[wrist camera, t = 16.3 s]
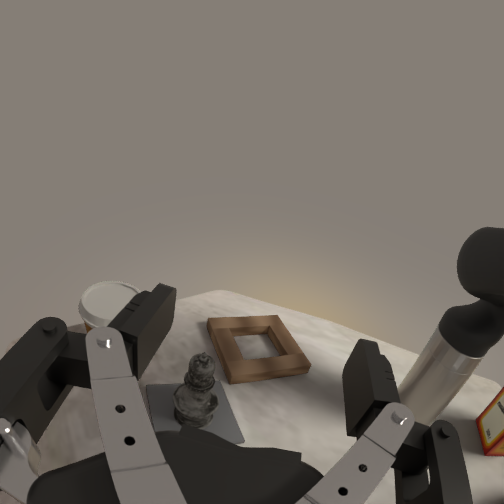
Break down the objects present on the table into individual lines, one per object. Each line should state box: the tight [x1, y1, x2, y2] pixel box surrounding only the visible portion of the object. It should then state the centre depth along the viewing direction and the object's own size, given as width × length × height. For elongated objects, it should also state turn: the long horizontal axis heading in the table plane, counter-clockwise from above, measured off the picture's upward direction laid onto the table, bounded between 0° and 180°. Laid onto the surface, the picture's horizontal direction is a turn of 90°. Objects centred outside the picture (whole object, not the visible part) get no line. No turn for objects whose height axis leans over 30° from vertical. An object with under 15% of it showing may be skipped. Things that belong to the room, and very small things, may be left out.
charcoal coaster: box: [146, 380, 245, 444], centre depth 37 cm, size 11×11×1 cm
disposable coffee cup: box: [79, 281, 141, 333], centre depth 39 cm, size 10×10×12 cm
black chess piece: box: [173, 352, 219, 429], centre depth 34 cm, size 6×6×12 cm
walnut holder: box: [207, 315, 311, 384], centre depth 52 cm, size 14×14×2 cm
